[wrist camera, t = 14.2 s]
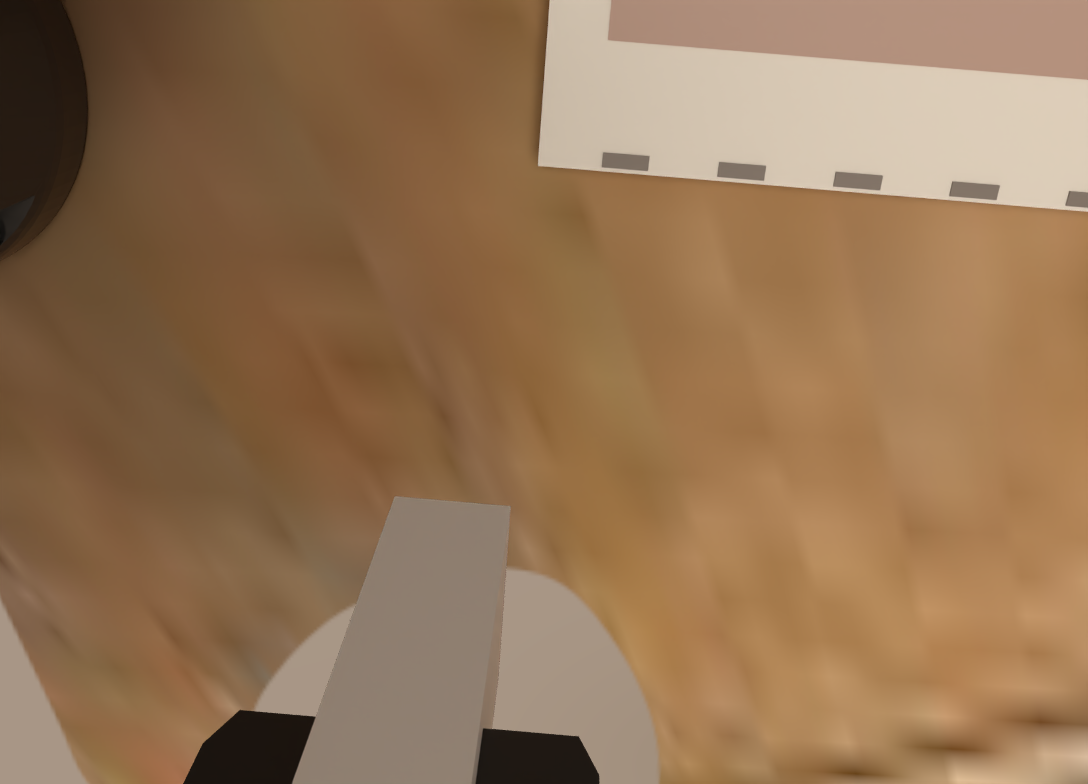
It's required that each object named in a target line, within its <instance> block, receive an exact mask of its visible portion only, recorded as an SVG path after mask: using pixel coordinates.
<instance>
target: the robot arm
mask: <svg viewBox="0 0 1088 784" xmlns="http://www.w3.org/2000/svg"><path fill="white" fill-rule="evenodd" d="M86 126H87V97H86V86H85V79H84V72H83V67H82V62H81V57H80V54H79V50H78V46H77V43H76V39H75V37H74V34H73V31H72V28H71V25H70V22H69V20H68V18H67V15H66V13H65V10H64V8H63V6H62V4H61V2H60V0H0V260H2V259H4V258H6V257H8V256H9V255H11V254H13V253H15V252H16V251H18V250H19V249H21V248H22V247H24V246H25V245H26V244H28V243H29V242H30V241H31V240H32V239H34V238H35V237H36V236H37V235H38V234H39V233H40V232H41V231H42V230H43V229H44V228H45V227H46V226H47V225H48V224H49V222H50V221H51V220H52V219H53V218H54V216H55V215H56V214H57V212H58V211H59V209H60V208H61V206H62V205H63V203H64V201H65V199H66V197H67V196H68V194H69V192H70V190H71V187H72V185H73V183H74V181H75V178H76V175H77V172H78V169H79V166H80V162H81V158H82V154H83V149H84V143H85V137H86ZM510 508H511V506H503V505H491V504H479V503H468V502H456V501H444V500H433V499H421V498H409V497H398V496H395V497H394V500H393V503H392V505H391V508H390V511H389V514H388V517H387V519H386V522H385V525H384V528H383V530H382V533H381V536H380V539H379V542H378V544H377V547H376V550H375V553H374V556H373V558H372V561H371V564H370V567H369V570H368V572H367V575H366V578H365V581H364V584H363V586H362V589H361V592H360V595H359V598H358V600H357V603H356V606H355V609H354V612H353V615H352V617H351V620H350V623H349V626H348V628H347V631H346V634H345V637H344V640H343V643H342V645H341V648H340V651H339V654H338V657H337V659H336V662H335V665H334V668H333V670H332V673H331V676H330V679H329V681H328V684H327V687H326V690H325V693H324V695H323V699H322V701H321V704H320V707H319V710H318V713H317V715H316V717H313V716H301V715H290V714H278V713H267V712H255V711H244V710H239V711H238V712H237V713H236V714H235V715H234V716H233V717H232V718H231V719H230V720H228V721H227V722H226V723H225V724H224V725H223V726H222V727H221V728H220V729H218V730H217V731H216V732H215V733H214V734H213V735H212V736H211V737H210V738H208V739H207V740H206V741H205V742H204V743H203V744H202V746H201V748H200V750H199V752H198V754H197V757H196V759H195V761H194V763H193V765H192V767H191V769H190V771H189V773H188V775H187V777H186V779H185V781H184V783H183V784H599V774H598V772H597V770H596V768H595V766H594V765H593V763H592V761H591V759H590V757H589V755H588V753H587V751H586V749H585V747H584V746H583V744H582V742H581V740H580V738H579V737H578V736H566V735H554V734H542V733H531V732H521V731H509V730H496V729H492V725H493V717H494V708H495V700H496V693H497V684H498V676H499V662H500V648H501V633H502V620H503V606H504V592H505V578H506V564H507V550H508V536H509V522H510Z"/></svg>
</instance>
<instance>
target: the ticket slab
mask: <svg viewBox="0 0 1088 784" xmlns="http://www.w3.org/2000/svg"><path fill="white" fill-rule="evenodd" d="M538 166H546V167H558V168H570V169H582V170H594V171H606V172H618V173H630V174H642V175H654V176H666V177H678V178H690V179H702V180H714V181H726V182H738V183H750V184H762V185H774V186H786V187H798V188H810V189H822V190H834V191H846V192H858V193H870V194H882V195H894V196H906V197H918V198H930V199H942V200H954V201H966V202H978V203H990V204H1002V205H1014V206H1026V207H1038V208H1050V209H1062V210H1074V211H1086V212H1088V0H550V4H549V18H548V32H547V46H546V60H545V74H544V87H543V101H542V115H541V129H540V143H539V157H538Z"/></svg>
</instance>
